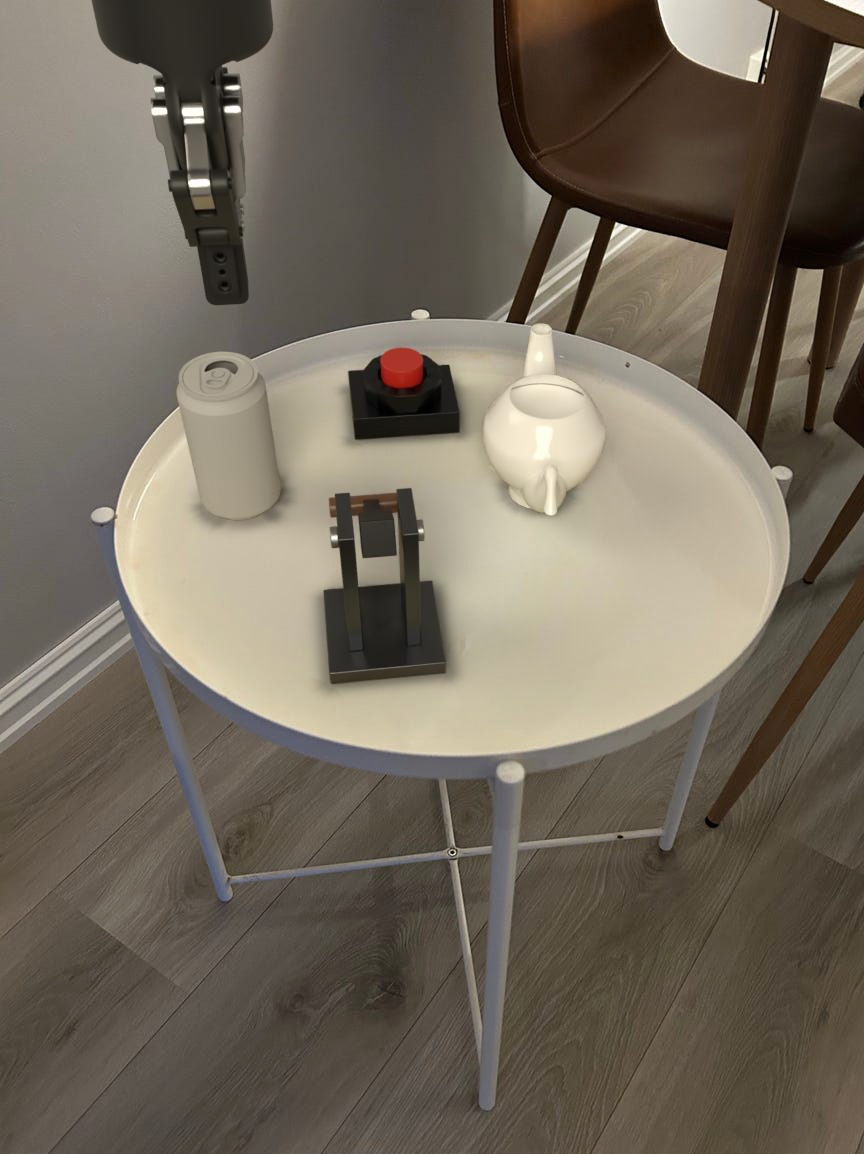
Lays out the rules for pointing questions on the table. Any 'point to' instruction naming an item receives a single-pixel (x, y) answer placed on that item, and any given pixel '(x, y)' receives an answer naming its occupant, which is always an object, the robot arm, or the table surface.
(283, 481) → the table surface
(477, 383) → the table surface
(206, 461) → the beverage can
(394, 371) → the button
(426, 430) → the control block
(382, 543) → the lever
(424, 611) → the bracket
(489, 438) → the teapot
